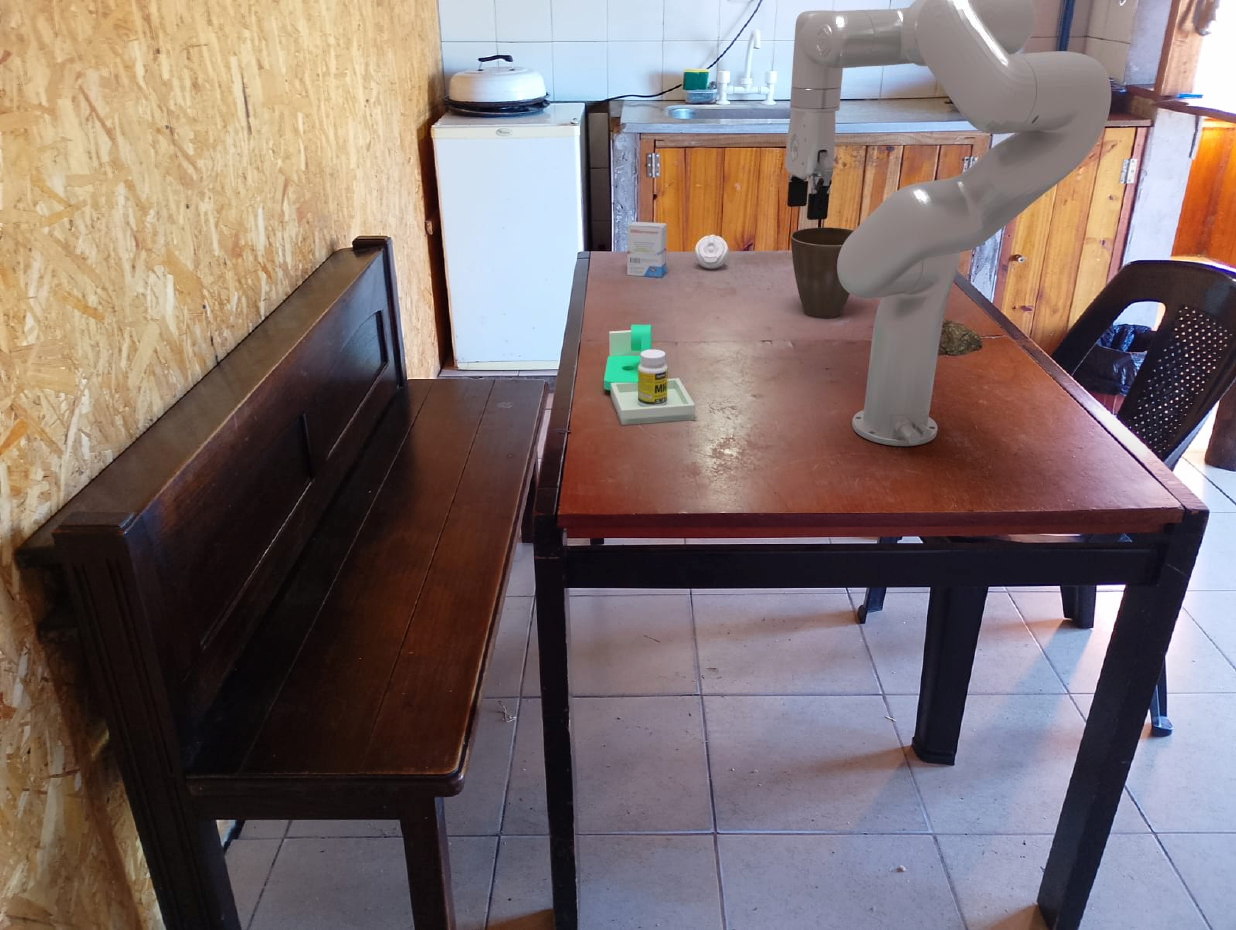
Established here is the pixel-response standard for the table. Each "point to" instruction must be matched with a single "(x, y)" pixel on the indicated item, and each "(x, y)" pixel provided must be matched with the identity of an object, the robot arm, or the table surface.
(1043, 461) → the table surface
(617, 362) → the camera mount
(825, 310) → the plant pot
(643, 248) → the ink box
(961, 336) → the rock
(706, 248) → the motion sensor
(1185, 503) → the table surface
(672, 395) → the tray
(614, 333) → the rear label tag
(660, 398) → the supplement bottle
